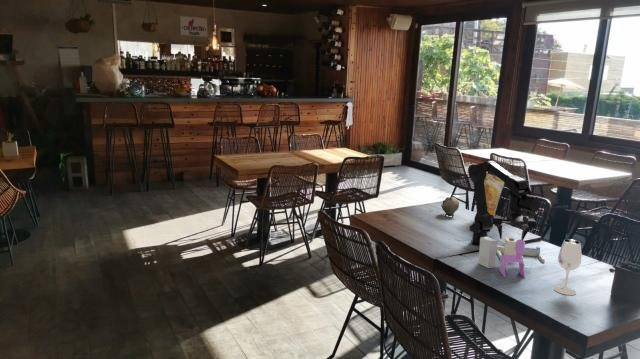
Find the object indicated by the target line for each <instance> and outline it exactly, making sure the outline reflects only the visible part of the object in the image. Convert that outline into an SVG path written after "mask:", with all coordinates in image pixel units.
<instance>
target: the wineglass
mask: <svg viewBox="0 0 640 359" xmlns="http://www.w3.org/2000/svg"><path fill="white" fill-rule="evenodd" d="M557 256H558V257H557V260H558V264H559V265H560V266H561V268H563V269H564V270H565V280H564V281H565V282H564V285H563V286H562V285H561V286H560V285H558V286H555V287H554V288H553V289H554V291H555V292H557V293H559V294H562V295H566V296H574V295H576V294H577V291H575V290H574V289H573V288H571V287H569V286H568V279H569V275H570V271H571V272H572V271H575V270H577V269H578V268H579V267H580V266H581V264H582V256H583V255H582V243H581V242H580V241H579V240H576V239H571V238H566V239H564V240H563V242H562V244H561V247H560V249H559V252H558V255H557Z"/></svg>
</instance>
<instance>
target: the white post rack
mask: <svg viewBox="0 0 640 359" xmlns="http://www.w3.org/2000/svg"><path fill="white" fill-rule="evenodd" d="M503 254H504V245H498V244H497V249H496V255H497V256H498V258H499V259H500V260H501V257H502V255H503ZM516 255H517V253H516ZM524 256H532V257H537V258H538V259H539V261H540V262H541V263H544V264H545V260H546V259H545V258H544V257H543V256H542V254H541V246H536V247H532V246H531V247H529V246H525V250H524V252H523V254H522V258H521V259H522V260H523V261H524Z"/></svg>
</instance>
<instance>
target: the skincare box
mask: <svg viewBox="0 0 640 359" xmlns="http://www.w3.org/2000/svg"><path fill="white" fill-rule="evenodd" d="M497 245H498V240H497V239H494V238H491V237H489V236H488V237H481V238H480V245H479V251H478V265H481V266H483V267H485V268H487V269H493V268H496V259H497V253H496V249H497Z"/></svg>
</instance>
